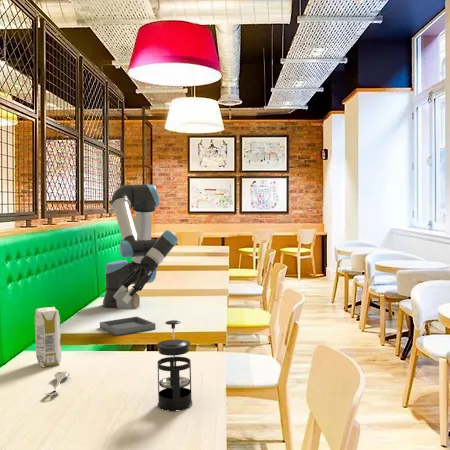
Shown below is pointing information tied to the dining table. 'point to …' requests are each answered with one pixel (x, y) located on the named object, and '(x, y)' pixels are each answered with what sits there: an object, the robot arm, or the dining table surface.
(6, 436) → the dining table surface
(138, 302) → the ceramic mug
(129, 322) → the tray
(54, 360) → the juice carton
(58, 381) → the grey elongated piece
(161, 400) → the french press
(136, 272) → the robot arm
